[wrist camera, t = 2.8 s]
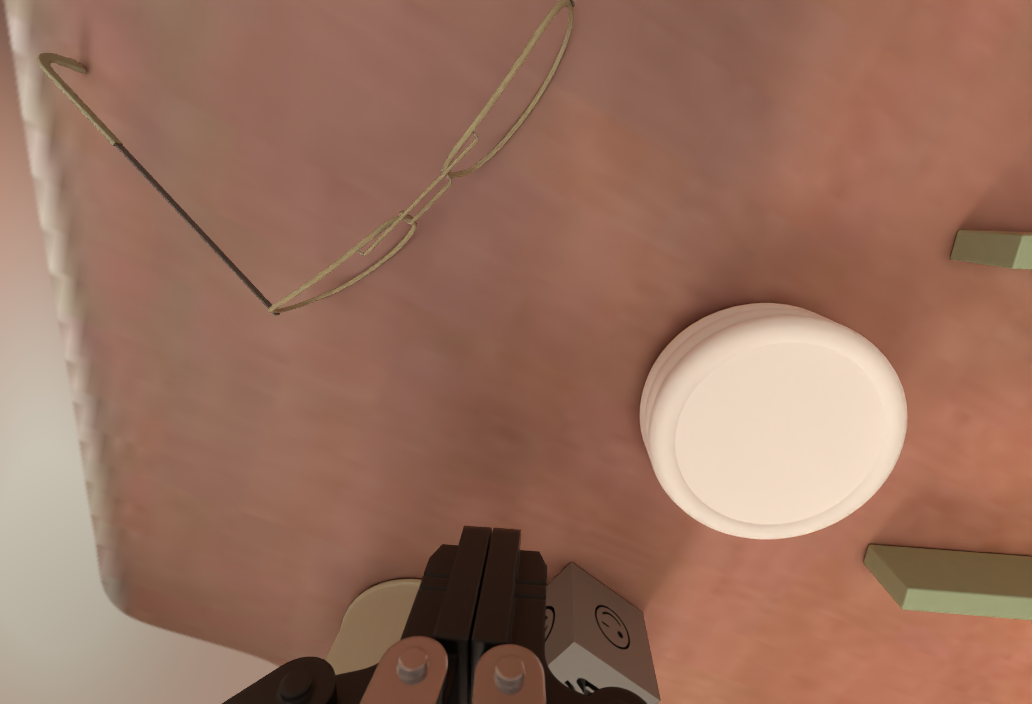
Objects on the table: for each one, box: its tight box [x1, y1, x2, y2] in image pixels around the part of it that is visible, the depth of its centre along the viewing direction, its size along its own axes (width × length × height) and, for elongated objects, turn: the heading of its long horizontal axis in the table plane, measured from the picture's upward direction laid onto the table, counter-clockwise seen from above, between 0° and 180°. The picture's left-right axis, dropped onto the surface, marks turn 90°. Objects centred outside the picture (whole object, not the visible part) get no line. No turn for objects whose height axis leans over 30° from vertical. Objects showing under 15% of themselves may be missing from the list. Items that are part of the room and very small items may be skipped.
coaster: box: [640, 303, 908, 539], centre depth 21 cm, size 10×10×4 cm
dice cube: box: [545, 562, 661, 704], centre depth 25 cm, size 5×5×5 cm
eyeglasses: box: [37, 0, 574, 316], centre depth 18 cm, size 16×15×5 cm
